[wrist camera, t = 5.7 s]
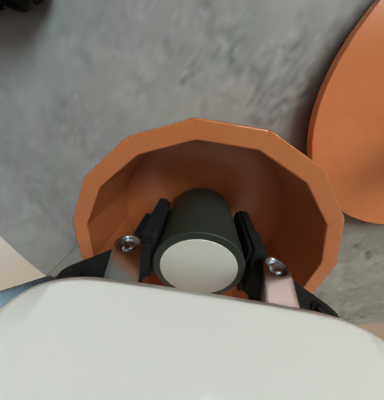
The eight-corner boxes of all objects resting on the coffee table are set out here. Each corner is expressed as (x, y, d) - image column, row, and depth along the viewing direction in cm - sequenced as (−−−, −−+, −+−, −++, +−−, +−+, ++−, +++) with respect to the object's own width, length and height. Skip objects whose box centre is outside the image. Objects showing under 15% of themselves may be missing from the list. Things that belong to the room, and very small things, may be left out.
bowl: (115, 105, 11) (41, 92, 6) (325, 139, 11) (424, 155, 6) (125, 257, 17) (93, 311, 13) (255, 279, 17) (275, 341, 13)
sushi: (173, 183, 11) (153, 225, 7) (238, 193, 11) (260, 242, 7) (168, 234, 14) (150, 290, 9) (222, 242, 14) (231, 303, 9)
